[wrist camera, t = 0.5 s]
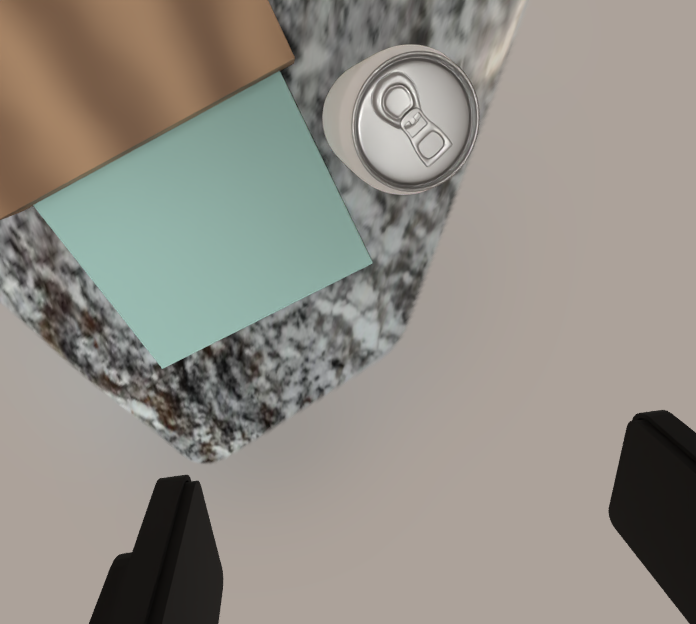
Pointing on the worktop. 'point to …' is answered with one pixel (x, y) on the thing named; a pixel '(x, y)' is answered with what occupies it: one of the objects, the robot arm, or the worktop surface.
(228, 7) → the board
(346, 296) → the worktop surface
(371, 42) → the worktop surface
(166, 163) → the mat
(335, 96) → the can
